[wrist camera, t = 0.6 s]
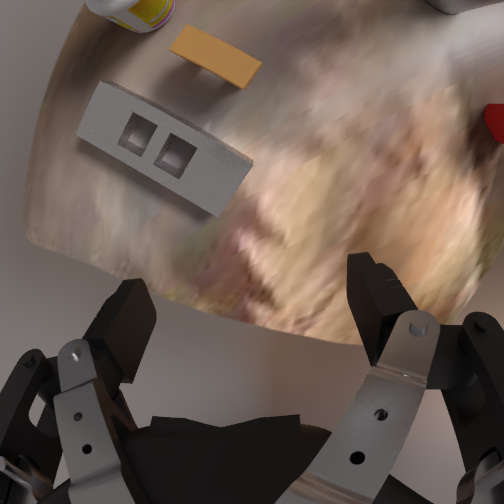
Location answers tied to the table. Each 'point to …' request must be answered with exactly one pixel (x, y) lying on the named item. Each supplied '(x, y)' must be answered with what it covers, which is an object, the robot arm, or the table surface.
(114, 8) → the supplement bottle
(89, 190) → the table surface
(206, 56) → the ochre wooden block
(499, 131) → the french fries
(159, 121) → the rail
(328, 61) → the table surface
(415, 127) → the table surface
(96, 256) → the table surface
